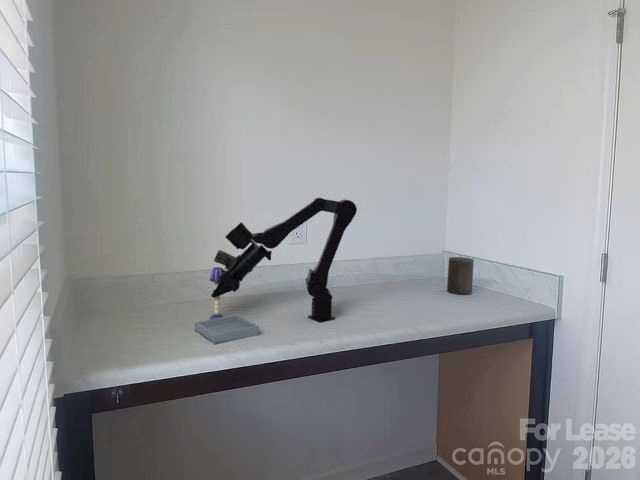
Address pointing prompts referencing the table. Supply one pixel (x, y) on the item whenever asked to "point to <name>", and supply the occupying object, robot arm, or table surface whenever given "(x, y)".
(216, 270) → the toy lamp
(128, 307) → the table surface
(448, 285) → the pillar candle
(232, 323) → the desk tray
